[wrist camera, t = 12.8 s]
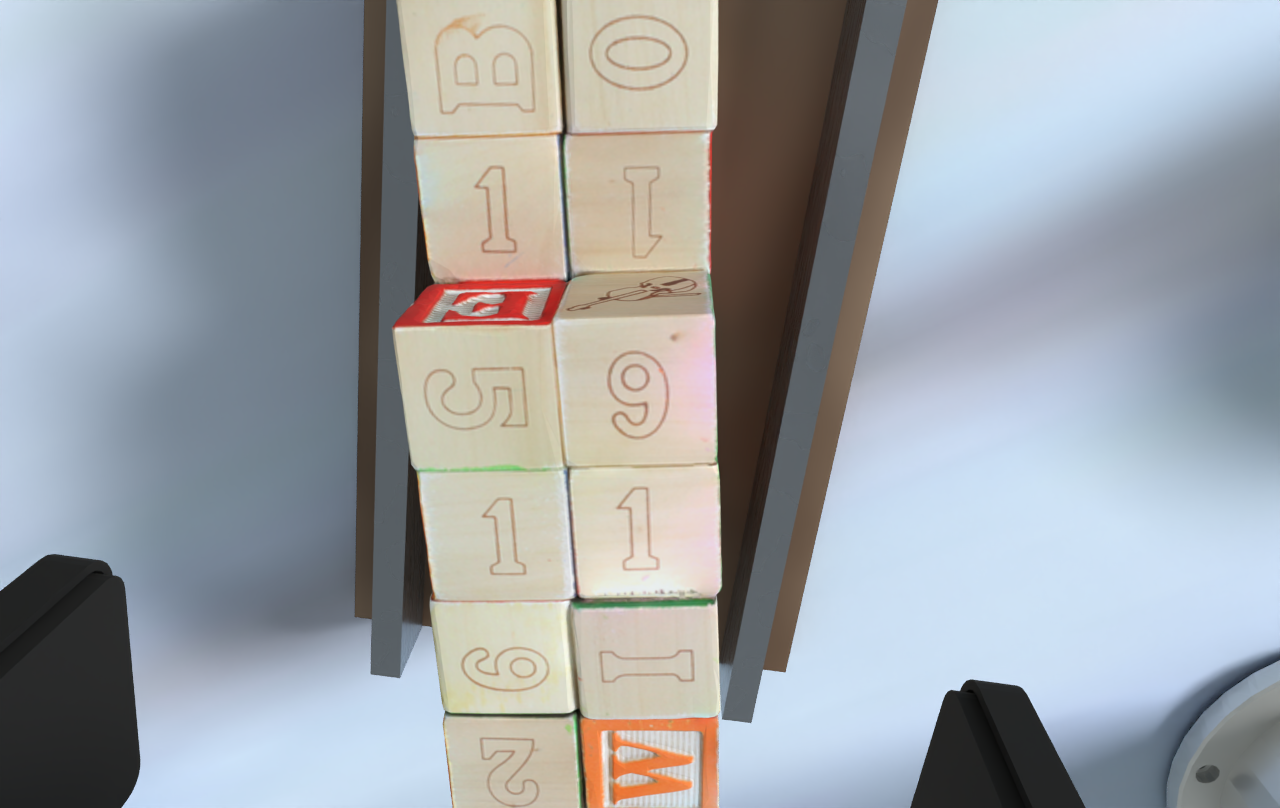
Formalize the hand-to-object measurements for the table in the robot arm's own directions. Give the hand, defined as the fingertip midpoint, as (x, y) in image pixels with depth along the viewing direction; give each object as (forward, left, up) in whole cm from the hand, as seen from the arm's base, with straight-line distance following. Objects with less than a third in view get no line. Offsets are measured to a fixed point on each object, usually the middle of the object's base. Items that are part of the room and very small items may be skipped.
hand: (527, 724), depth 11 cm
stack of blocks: (+1, -1, -20) cm, 20 cm away
